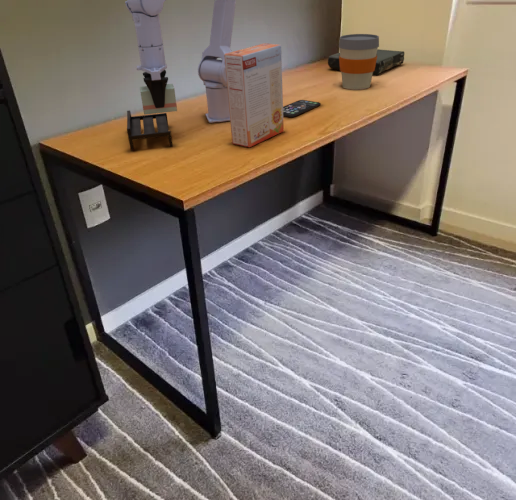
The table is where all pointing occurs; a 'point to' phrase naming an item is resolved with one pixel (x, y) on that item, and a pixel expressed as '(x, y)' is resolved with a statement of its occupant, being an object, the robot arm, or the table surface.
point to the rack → (147, 127)
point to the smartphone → (298, 107)
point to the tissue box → (149, 104)
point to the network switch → (383, 60)
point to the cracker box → (255, 93)
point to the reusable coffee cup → (357, 59)
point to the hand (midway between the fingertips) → (159, 104)
